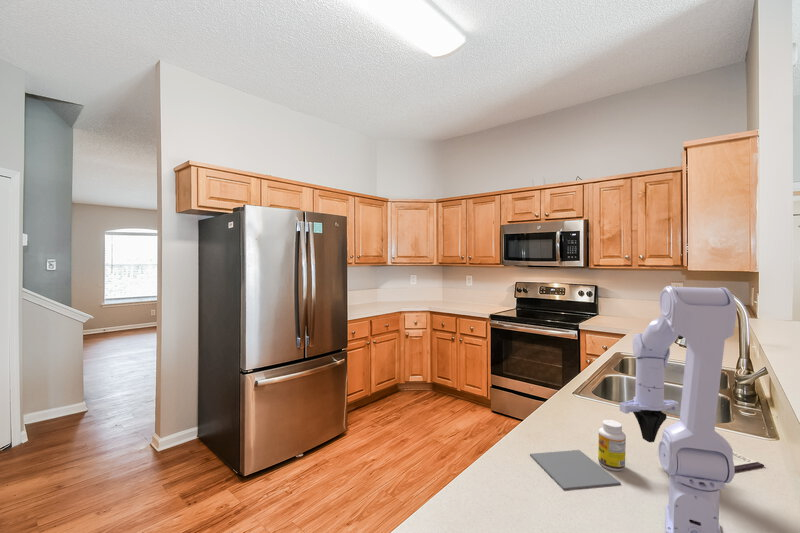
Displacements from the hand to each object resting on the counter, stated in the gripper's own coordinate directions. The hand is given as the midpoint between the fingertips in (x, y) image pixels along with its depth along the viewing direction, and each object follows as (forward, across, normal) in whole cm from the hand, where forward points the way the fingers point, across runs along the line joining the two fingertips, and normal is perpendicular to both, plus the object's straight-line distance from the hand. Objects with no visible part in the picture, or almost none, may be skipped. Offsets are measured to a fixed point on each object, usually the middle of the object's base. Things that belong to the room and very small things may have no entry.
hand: (648, 440), depth 89 cm
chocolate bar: (+6, -17, +2) cm, 18 cm away
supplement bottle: (+6, +10, 0) cm, 11 cm away
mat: (+5, +20, 0) cm, 21 cm away
